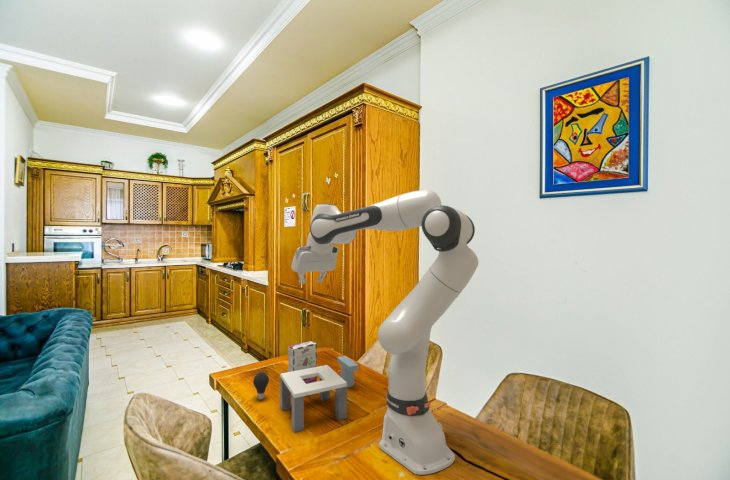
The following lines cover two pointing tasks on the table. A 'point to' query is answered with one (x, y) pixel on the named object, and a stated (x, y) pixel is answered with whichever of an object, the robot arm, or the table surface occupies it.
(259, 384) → the light bulb
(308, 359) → the candy bar box
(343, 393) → the cutout shelf
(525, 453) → the table surface
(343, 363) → the peg
